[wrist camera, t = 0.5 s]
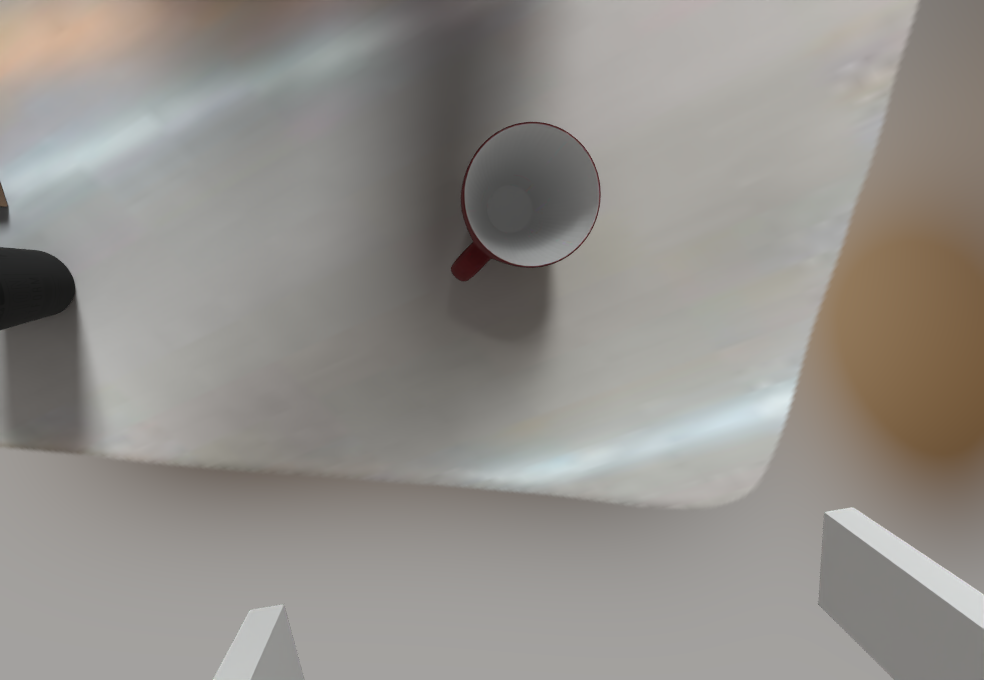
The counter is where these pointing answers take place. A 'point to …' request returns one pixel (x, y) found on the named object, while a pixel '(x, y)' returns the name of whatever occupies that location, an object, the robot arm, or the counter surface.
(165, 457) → the counter surface
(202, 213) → the counter surface
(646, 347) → the counter surface
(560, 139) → the mug
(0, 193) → the wooden compartment tray
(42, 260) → the drinking cup
